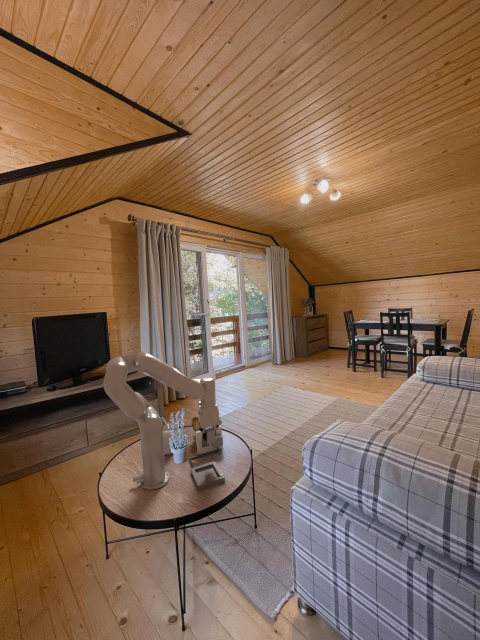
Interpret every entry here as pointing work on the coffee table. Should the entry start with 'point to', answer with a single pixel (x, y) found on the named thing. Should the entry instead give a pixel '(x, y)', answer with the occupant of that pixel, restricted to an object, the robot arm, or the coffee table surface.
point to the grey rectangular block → (210, 435)
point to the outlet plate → (204, 447)
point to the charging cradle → (207, 475)
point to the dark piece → (202, 455)
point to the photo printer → (166, 442)
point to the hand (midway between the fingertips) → (209, 438)
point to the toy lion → (194, 422)
